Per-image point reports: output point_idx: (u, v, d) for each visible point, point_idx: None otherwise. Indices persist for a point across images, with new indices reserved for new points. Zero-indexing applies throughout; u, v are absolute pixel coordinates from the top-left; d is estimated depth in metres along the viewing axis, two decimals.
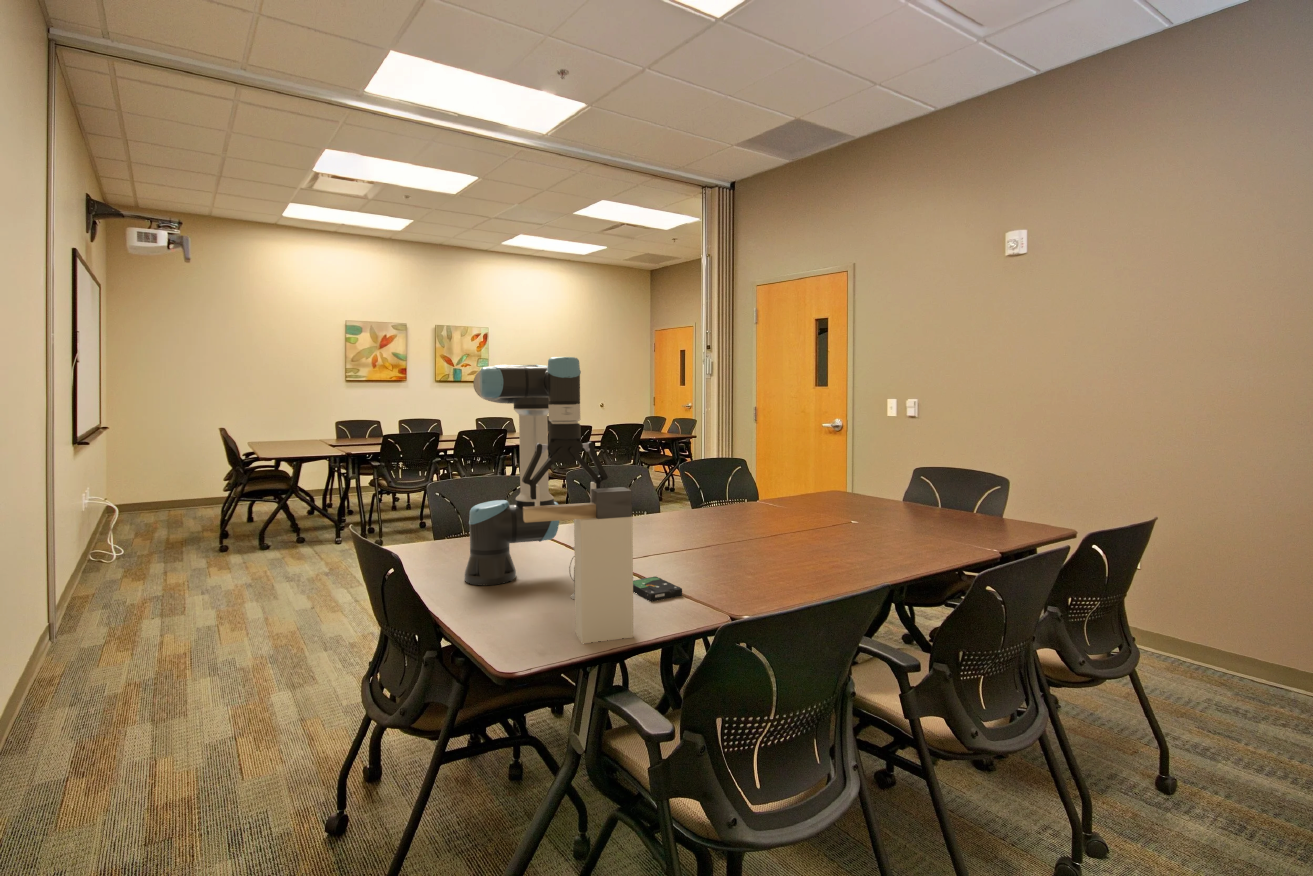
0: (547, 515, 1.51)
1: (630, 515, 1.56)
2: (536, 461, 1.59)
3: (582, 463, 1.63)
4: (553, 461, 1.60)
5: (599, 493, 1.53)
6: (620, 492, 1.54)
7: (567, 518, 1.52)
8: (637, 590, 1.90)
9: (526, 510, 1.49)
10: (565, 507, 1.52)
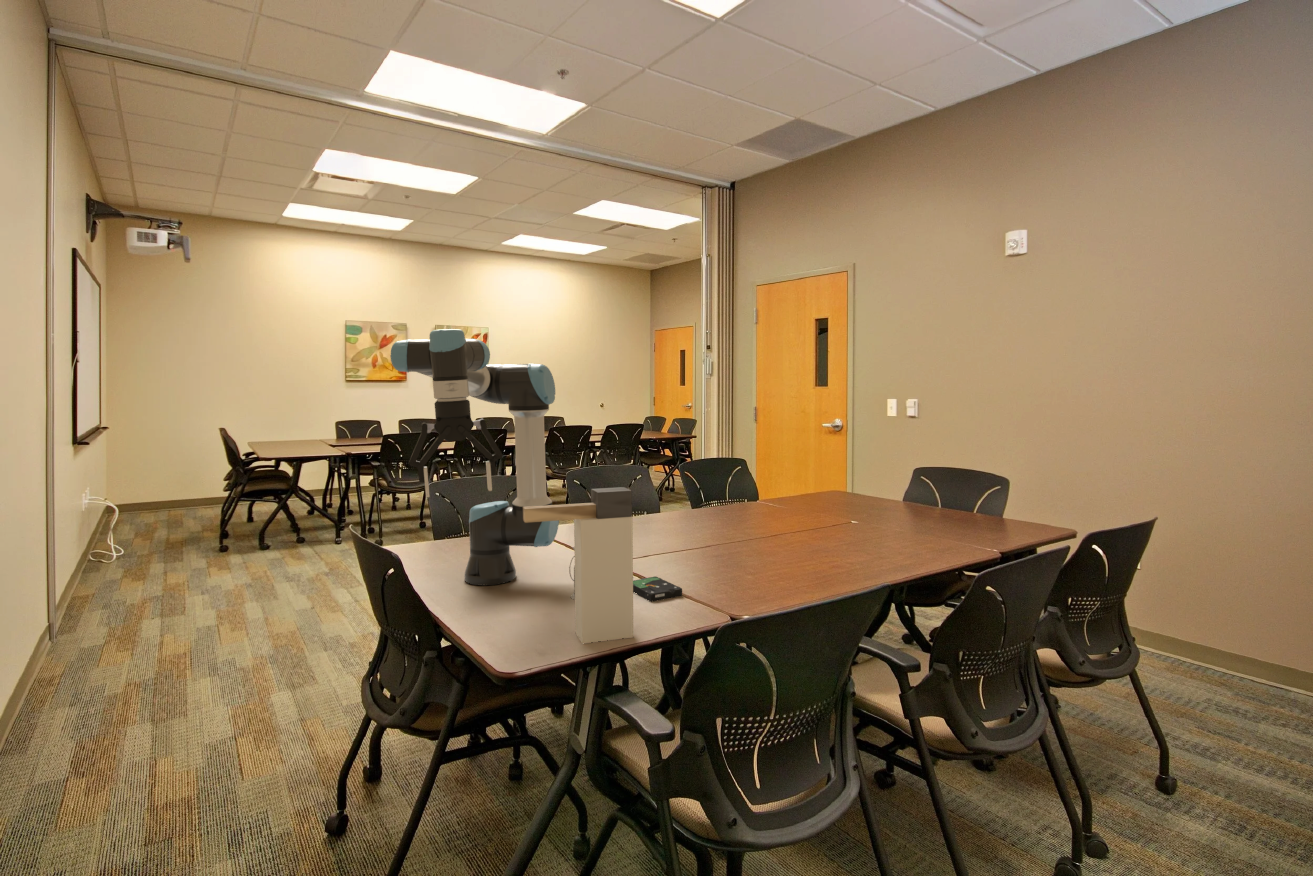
0: (547, 515, 1.51)
1: (630, 515, 1.56)
2: (422, 442, 1.49)
3: (473, 442, 1.53)
4: (440, 441, 1.50)
5: (599, 493, 1.53)
6: (620, 492, 1.54)
7: (567, 518, 1.52)
8: (637, 590, 1.90)
9: (526, 510, 1.49)
10: (565, 507, 1.52)
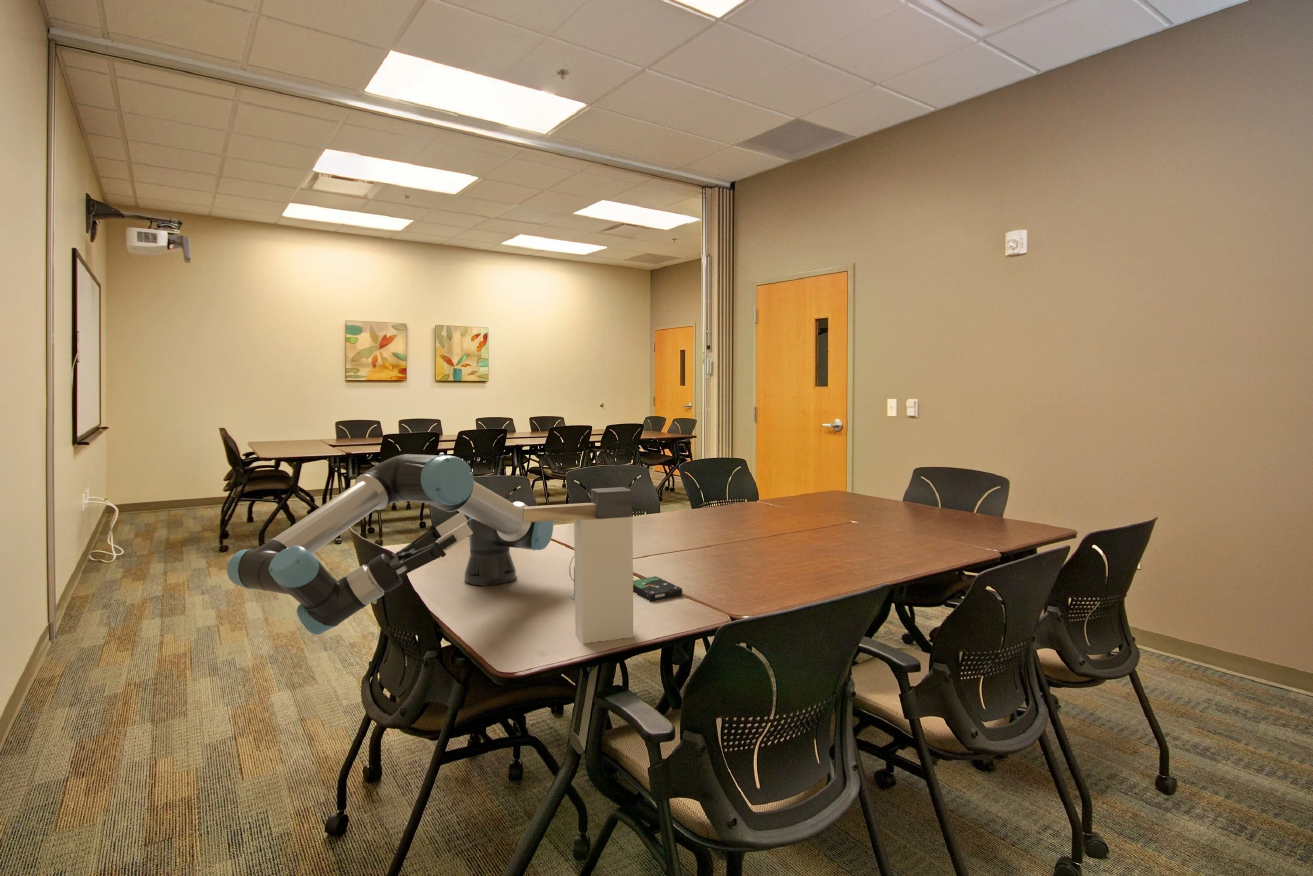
0: (547, 515, 1.51)
1: (630, 515, 1.56)
2: None
3: None
4: None
5: (599, 493, 1.53)
6: (620, 492, 1.54)
7: (567, 518, 1.52)
8: (637, 590, 1.90)
9: (526, 510, 1.49)
10: (565, 507, 1.52)
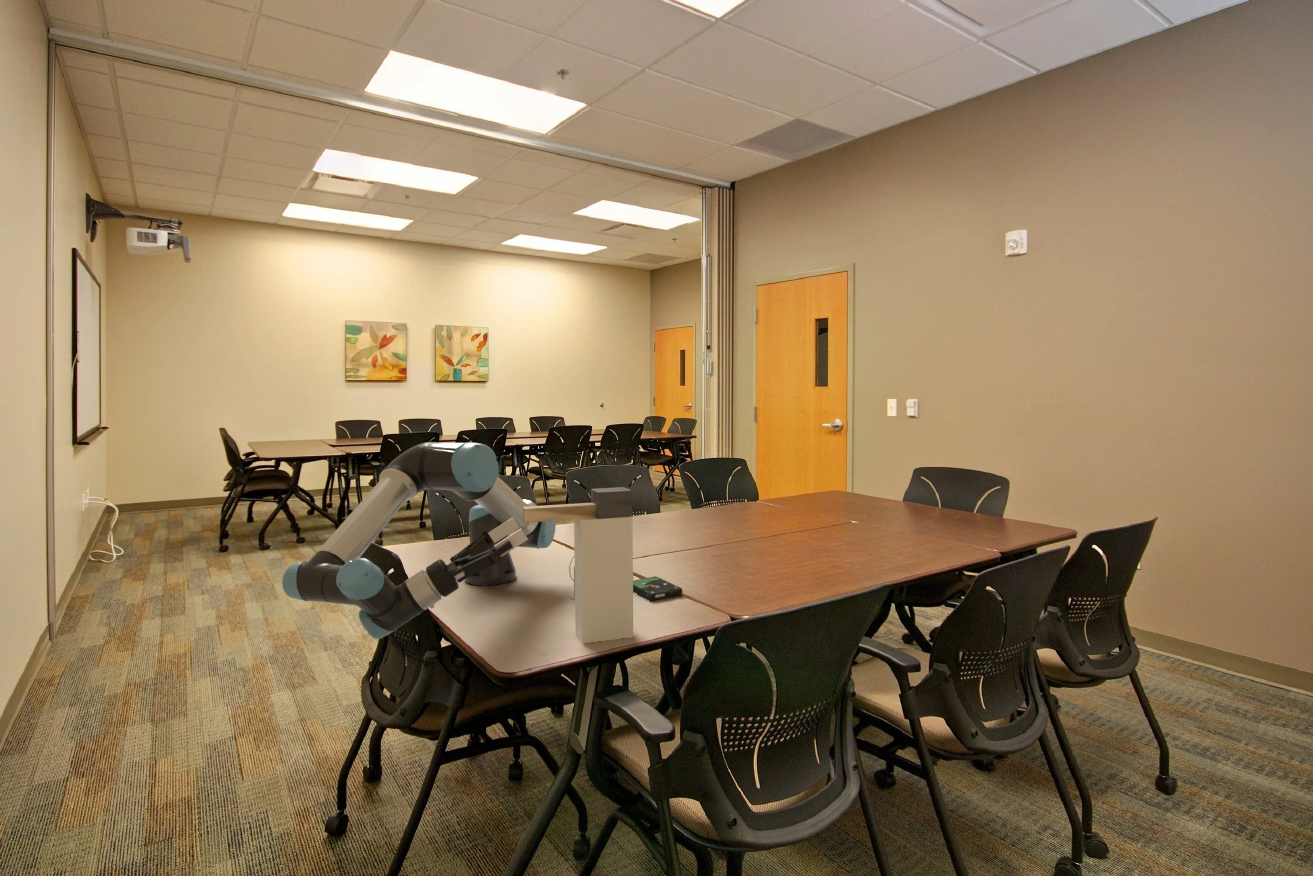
0: (547, 515, 1.51)
1: (630, 515, 1.56)
2: None
3: None
4: None
5: (599, 493, 1.53)
6: (620, 492, 1.54)
7: (567, 518, 1.52)
8: (638, 590, 1.90)
9: (526, 510, 1.49)
10: (565, 507, 1.52)
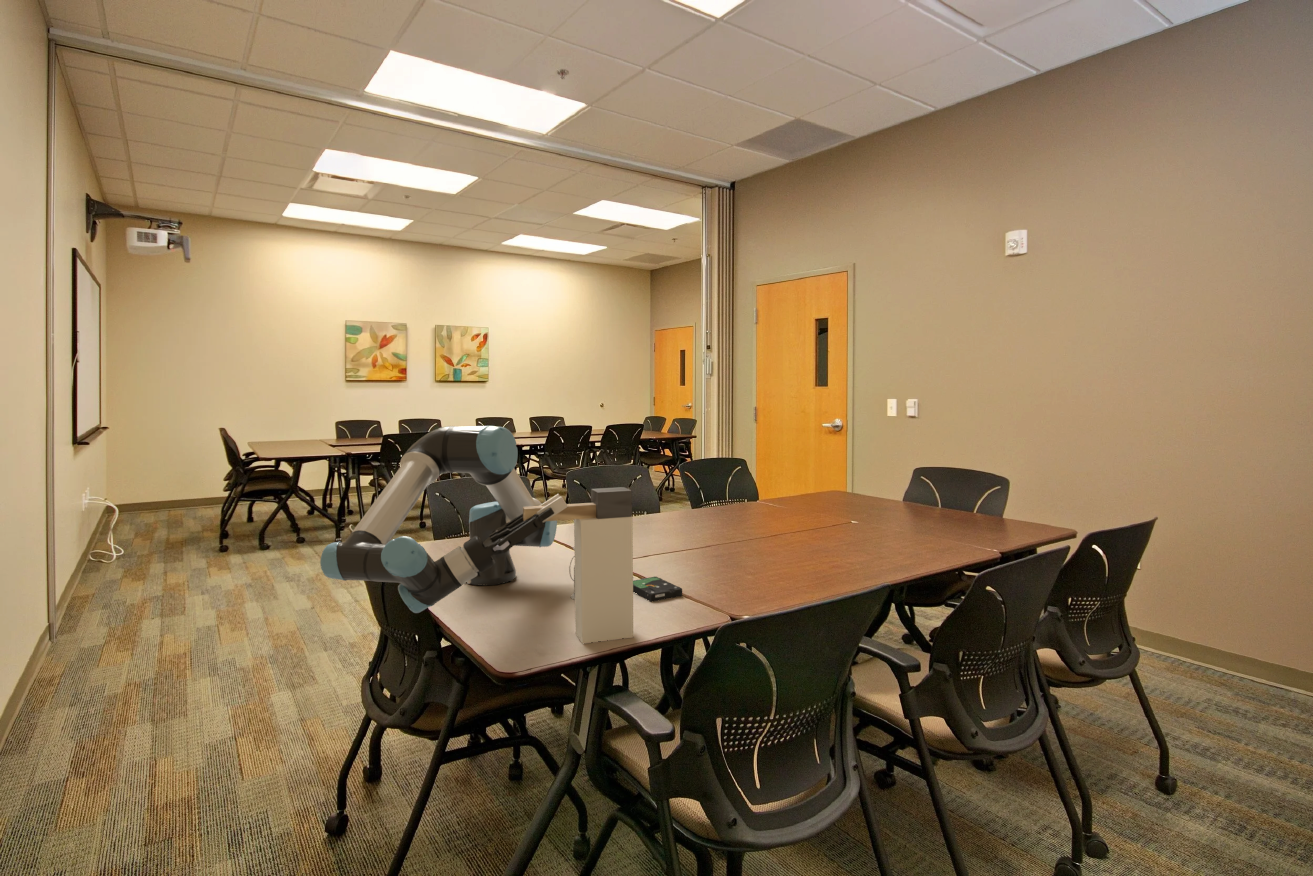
0: None
1: (630, 515, 1.56)
2: None
3: None
4: None
5: (599, 493, 1.53)
6: (620, 492, 1.54)
7: (567, 518, 1.52)
8: (638, 590, 1.90)
9: (526, 510, 1.49)
10: None
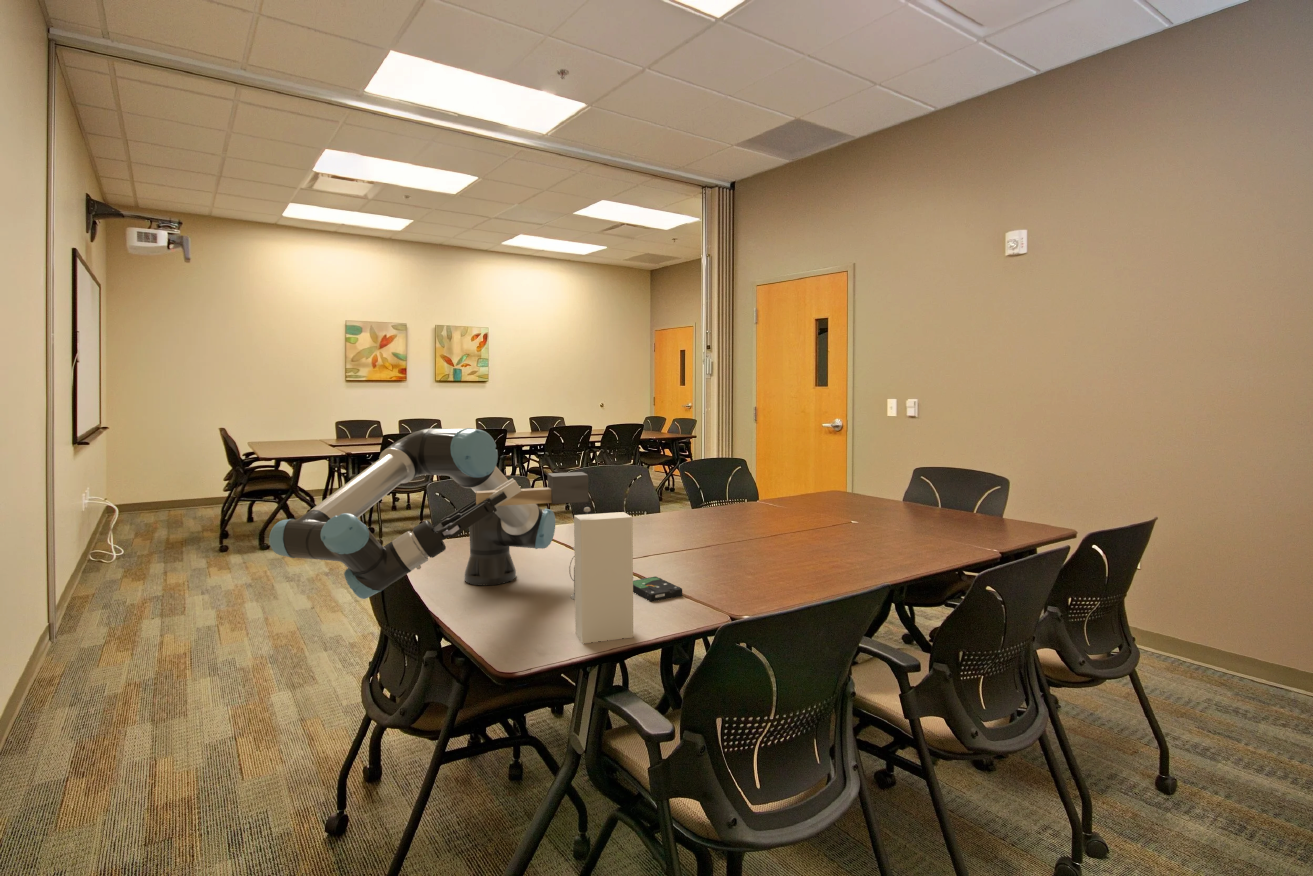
0: None
1: (587, 500, 1.52)
2: None
3: None
4: None
5: (554, 477, 1.49)
6: (576, 476, 1.51)
7: (521, 503, 1.49)
8: (638, 590, 1.90)
9: (478, 494, 1.46)
10: None
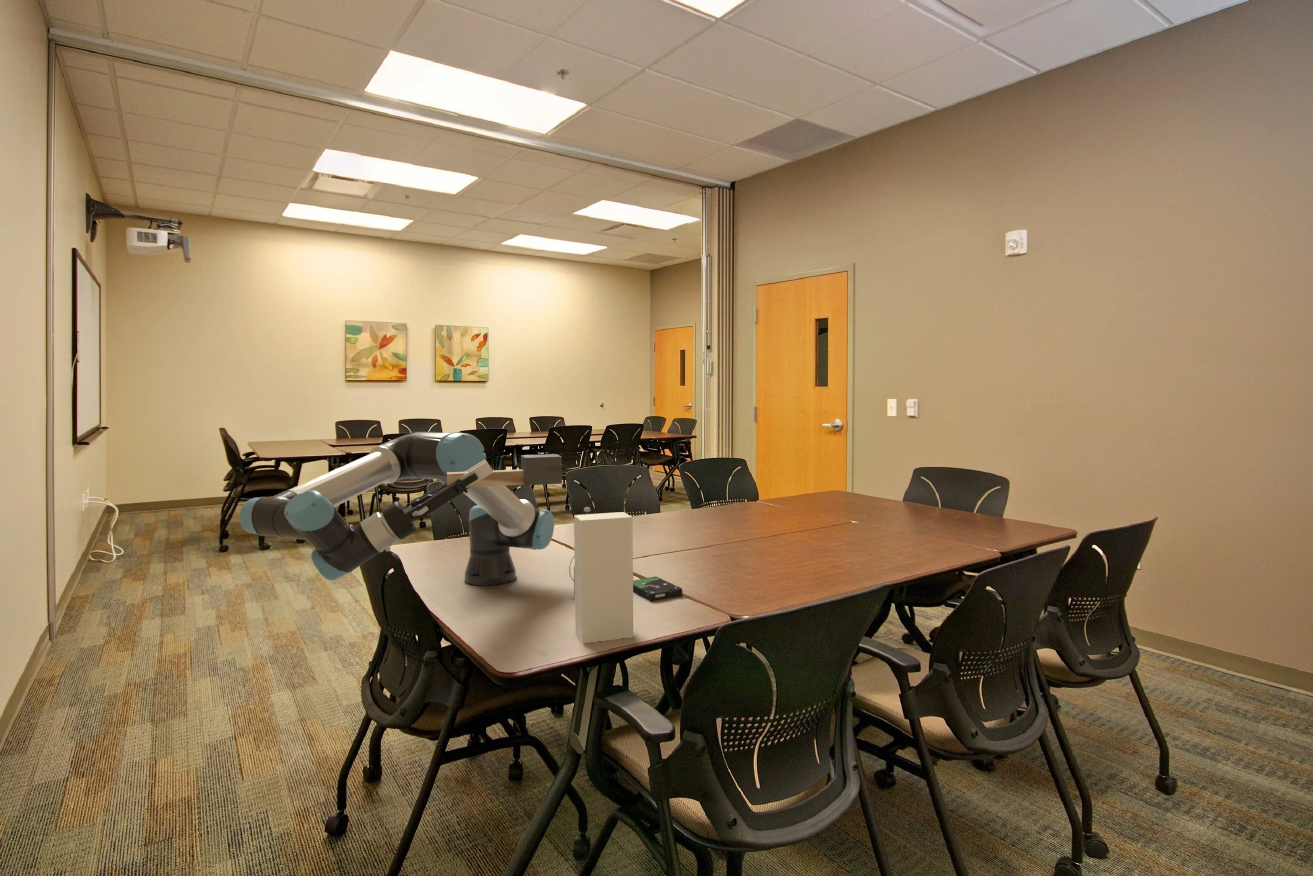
0: None
1: (560, 482, 1.50)
2: None
3: None
4: None
5: (527, 458, 1.47)
6: (549, 458, 1.49)
7: (493, 484, 1.46)
8: (638, 590, 1.90)
9: (449, 475, 1.43)
10: None
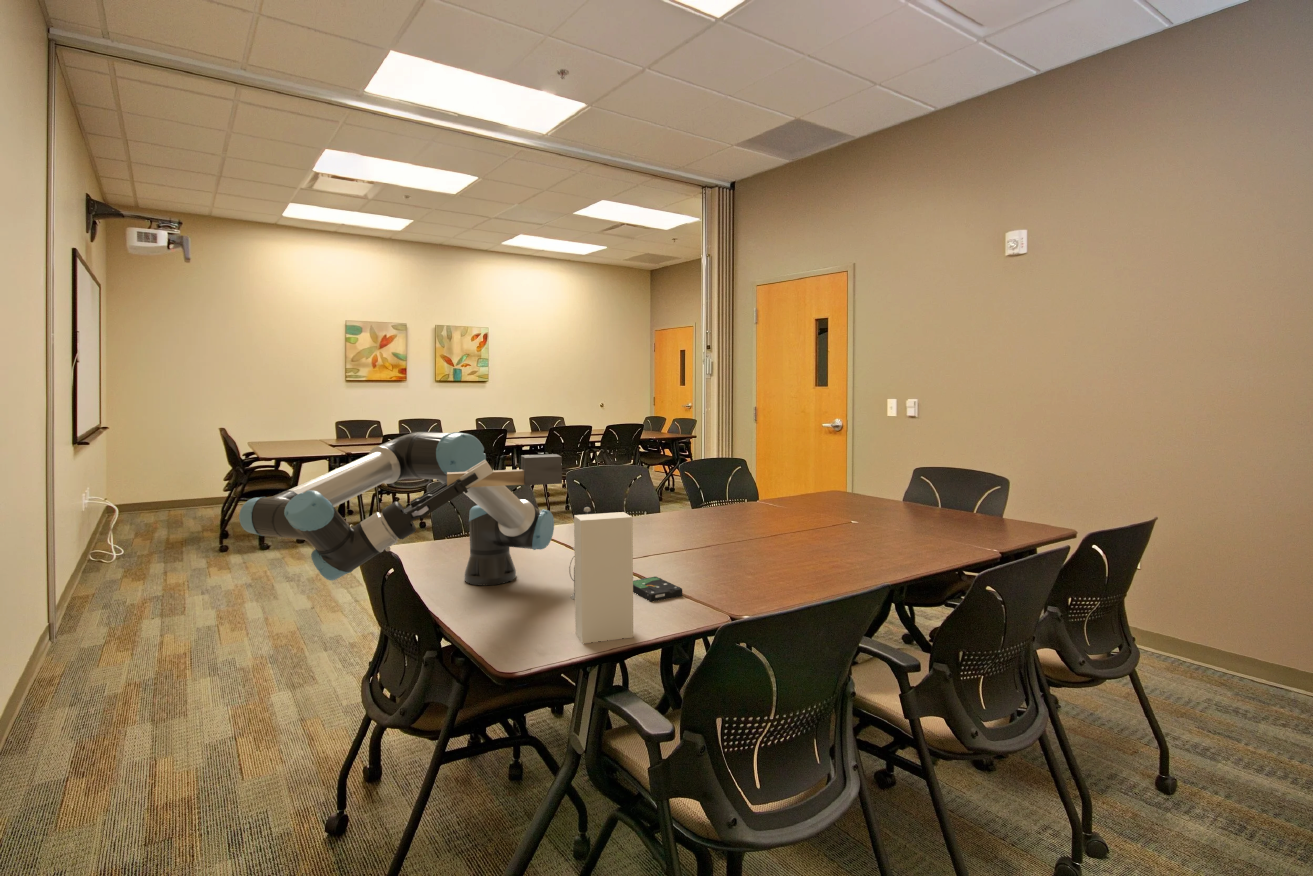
0: None
1: (560, 482, 1.50)
2: None
3: None
4: None
5: (527, 458, 1.47)
6: (549, 458, 1.49)
7: (493, 484, 1.46)
8: (638, 590, 1.90)
9: (449, 475, 1.43)
10: None
